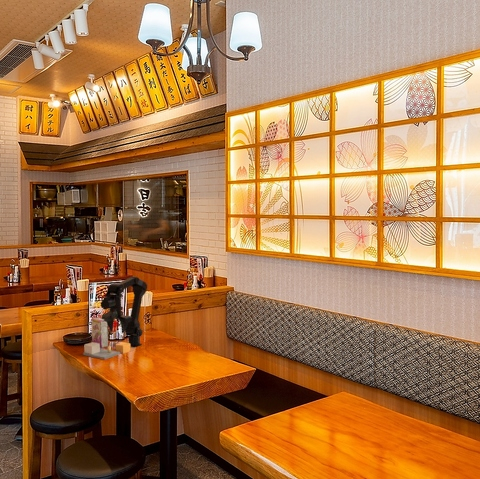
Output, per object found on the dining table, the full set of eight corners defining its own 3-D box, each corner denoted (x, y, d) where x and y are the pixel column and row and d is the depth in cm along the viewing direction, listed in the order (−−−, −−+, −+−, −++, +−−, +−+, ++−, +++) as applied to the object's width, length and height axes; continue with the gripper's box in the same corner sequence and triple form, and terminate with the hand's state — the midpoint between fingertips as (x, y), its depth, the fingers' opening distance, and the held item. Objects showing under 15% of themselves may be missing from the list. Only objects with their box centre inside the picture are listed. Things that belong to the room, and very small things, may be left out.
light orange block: (122, 349, 296) (122, 341, 296) (130, 351, 293) (130, 343, 293) (115, 352, 291) (115, 344, 290) (123, 353, 288) (123, 345, 287)
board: (98, 349, 295) (98, 340, 295) (120, 354, 287) (119, 344, 286) (83, 355, 285) (83, 345, 285) (104, 359, 277) (104, 349, 276)
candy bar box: (91, 344, 307) (90, 318, 306) (98, 343, 310) (98, 317, 309) (101, 348, 299) (100, 321, 298) (108, 346, 303) (108, 319, 302)
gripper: (94, 306, 285) (95, 333, 287) (117, 310, 275) (118, 338, 277) (108, 303, 295) (109, 328, 296) (131, 306, 285) (132, 333, 286)
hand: (117, 332), depth 289 cm, fingers open, 9 cm apart
